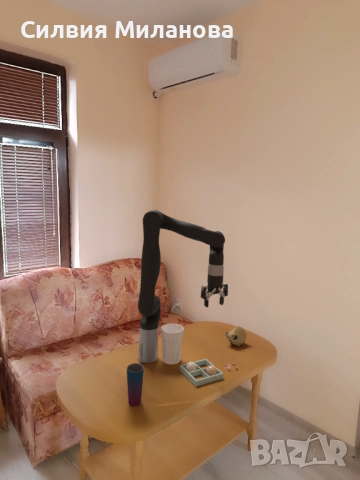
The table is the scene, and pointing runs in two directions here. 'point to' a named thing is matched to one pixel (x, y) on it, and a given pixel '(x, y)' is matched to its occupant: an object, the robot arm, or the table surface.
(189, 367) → the cream egg
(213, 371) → the brown egg
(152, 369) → the table surface
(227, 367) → the egg cup
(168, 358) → the cup
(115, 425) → the table surface
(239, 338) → the yellow toy animal head
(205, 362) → the egg tray
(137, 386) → the cup
